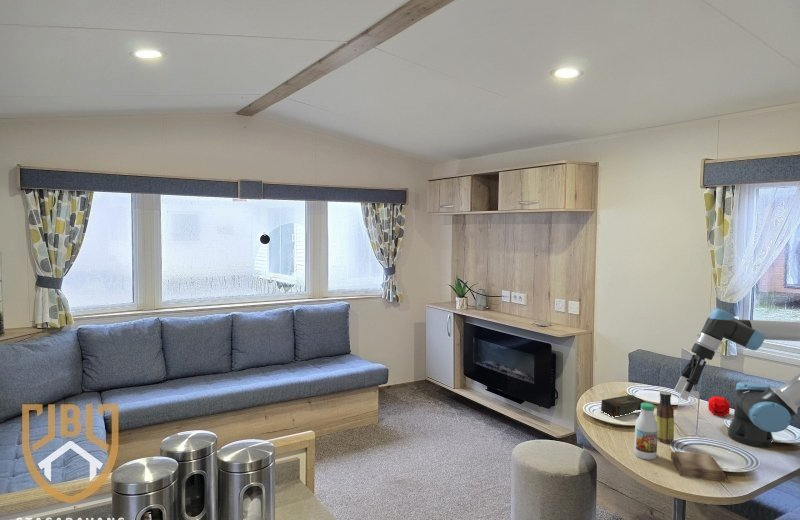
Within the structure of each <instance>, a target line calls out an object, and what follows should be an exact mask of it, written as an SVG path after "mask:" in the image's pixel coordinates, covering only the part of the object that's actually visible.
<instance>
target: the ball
mask: <svg viewBox="0 0 800 520" xmlns="http://www.w3.org/2000/svg"><path fill="white" fill-rule="evenodd" d="M730 406H731V405H730V402H729V401H728V400H727V399H726V398H725V397H723V396H716V395H714V396H712V397H710V398H709V399H708V405H707V407H708V411H709V412H710V413H711V414H712V415H713V416H719V417H726V416H727V415H728V414H730V411H731V409H730Z"/></svg>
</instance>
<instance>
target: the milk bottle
mask: <svg viewBox="0 0 800 520" xmlns="http://www.w3.org/2000/svg"><path fill="white" fill-rule="evenodd" d="M654 412H655V405H654V404H652V403H650V402H644V403H641V412H639V416H638V417H637V418H636V421H635V427H634V428H635V429H634V443H633V444H634V445H633V453H634V455H635V456H636V457H638V458H640V459H643V460H647V461H650V460H651V461H652V460H655V459H656V458H657V451H658V439H657V435H658V427H657V423H656V422H657V419H655V413H654Z"/></svg>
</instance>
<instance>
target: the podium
mask: <svg viewBox="0 0 800 520" xmlns="http://www.w3.org/2000/svg"><path fill="white" fill-rule="evenodd" d="M670 459H671V461H672V462H673V464H674V466H675V469H676V470H677V473H678V474H679V476H681V477H689V478H696V479H705V480H713V481H714V480H715V481H721V482H726V477H727V475H726V473H725V472H724V471H723V469H722V468H721V467H720V465H719V464H718V462H717V461H716V460H715V458H714V457H713V456H712V455H711V454H704V453H695V452H694V453H693V452H687V451H686V452H685V451H677V450H676V451H675V450H674V452H672V451H671V452H670Z"/></svg>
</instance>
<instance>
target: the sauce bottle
mask: <svg viewBox="0 0 800 520" xmlns="http://www.w3.org/2000/svg"><path fill="white" fill-rule="evenodd" d="M671 398H672V393H671V392H669V391H665V390H663V391H662V390H661V391H659V403H658V405H657V407H656V423H657V427H658V435H657V441H659V442H660V443H665V444H671V442H672V441H673V442H674V436H675V435H674V434H675V416H674V413H675V412H674V408H673V406H672V401H671V400H672V399H671ZM673 442H672V443H673Z"/></svg>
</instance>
